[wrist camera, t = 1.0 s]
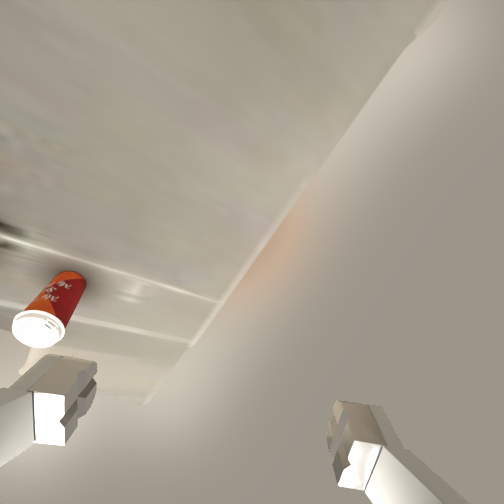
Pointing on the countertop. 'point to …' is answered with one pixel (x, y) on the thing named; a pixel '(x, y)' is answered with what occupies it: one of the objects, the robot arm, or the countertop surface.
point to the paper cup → (50, 311)
